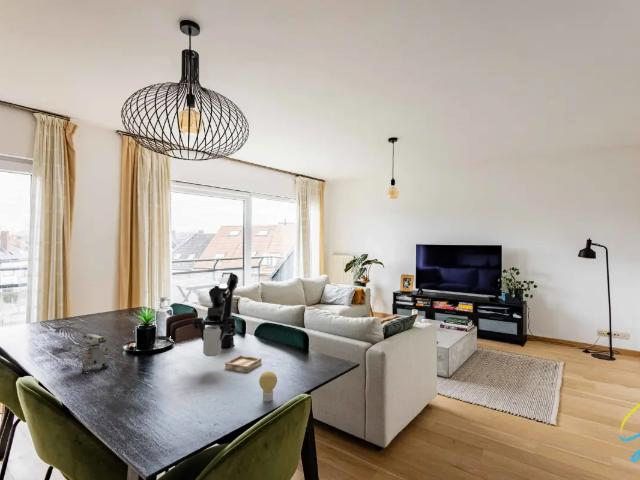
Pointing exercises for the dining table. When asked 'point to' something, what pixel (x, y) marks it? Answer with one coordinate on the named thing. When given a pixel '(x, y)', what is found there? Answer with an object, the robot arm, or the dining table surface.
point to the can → (212, 341)
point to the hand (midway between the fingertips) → (211, 340)
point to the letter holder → (182, 327)
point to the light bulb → (268, 385)
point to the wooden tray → (243, 363)
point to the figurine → (94, 352)
